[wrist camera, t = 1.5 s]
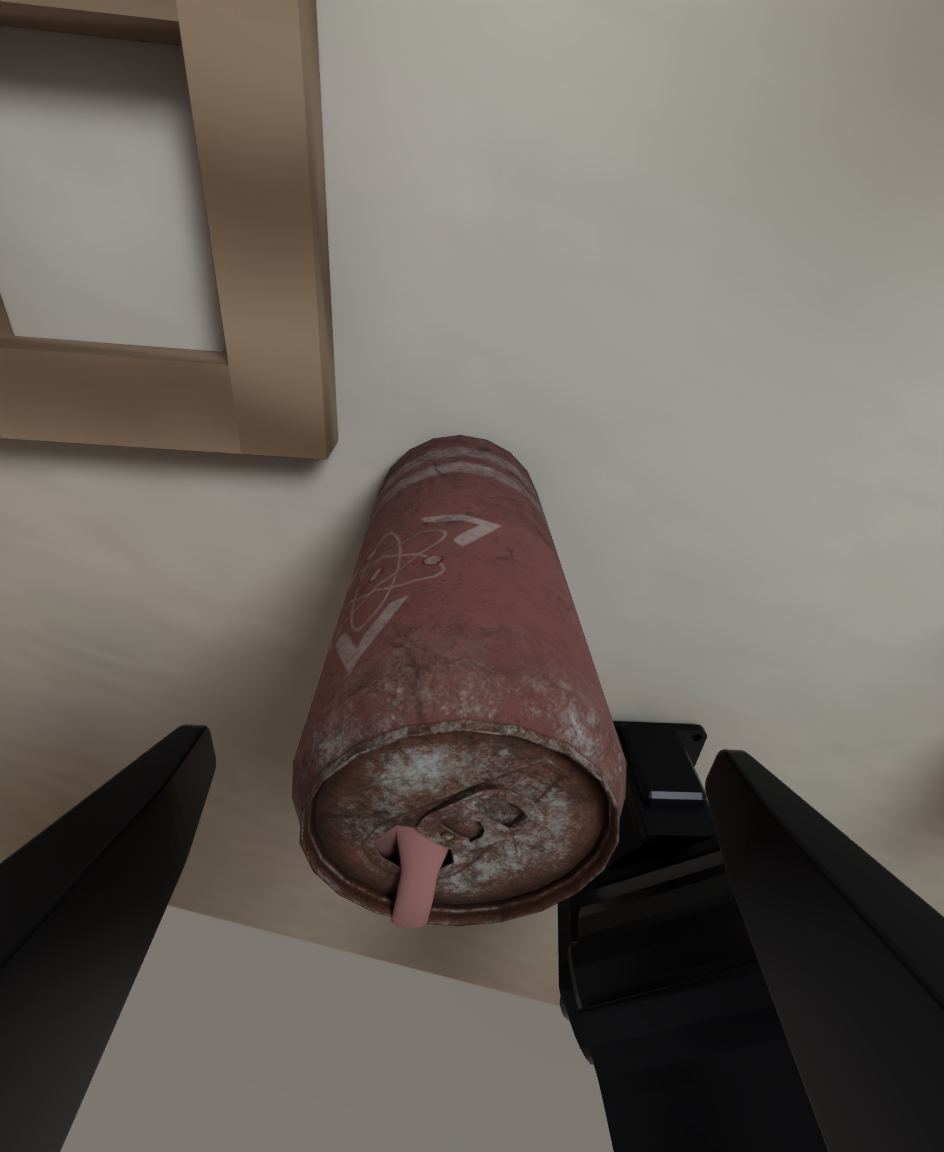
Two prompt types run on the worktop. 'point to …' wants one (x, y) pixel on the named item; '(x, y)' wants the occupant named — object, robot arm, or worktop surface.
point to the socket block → (239, 246)
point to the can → (458, 708)
